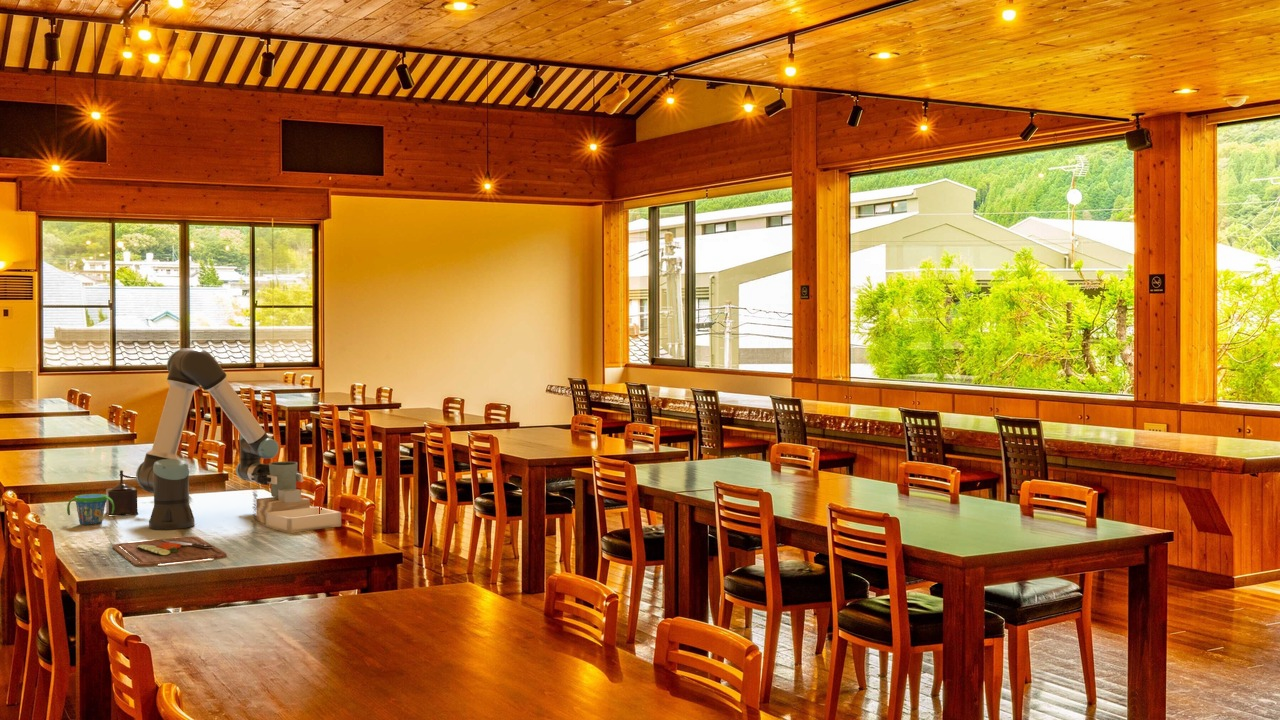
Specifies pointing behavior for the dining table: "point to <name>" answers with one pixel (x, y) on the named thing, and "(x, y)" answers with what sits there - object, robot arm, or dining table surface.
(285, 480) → the grey green tapered cup
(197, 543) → the chopping board
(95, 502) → the snack cup
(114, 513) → the manual coffee grinder
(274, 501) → the block
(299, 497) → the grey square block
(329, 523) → the box
